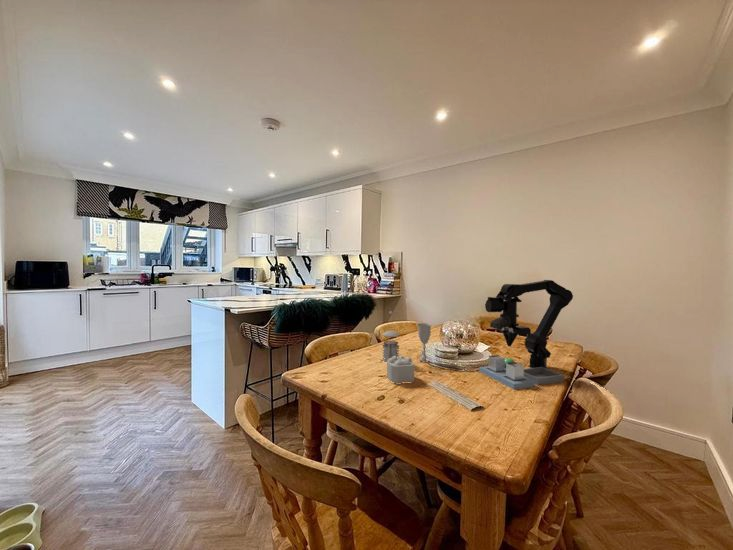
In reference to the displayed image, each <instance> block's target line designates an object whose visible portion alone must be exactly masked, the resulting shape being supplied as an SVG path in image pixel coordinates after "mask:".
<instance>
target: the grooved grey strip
mask: <svg viewBox="0 0 733 550" xmlns="http://www.w3.org/2000/svg"><path fill="white" fill-rule="evenodd" d="M427 384H428V385H429V386H431V387H433V388H434V389H436V390H438V391H439V392H441V393H443V394H444V395H446V396H447V397H446V396H445V397H446V398H448V397H449V398H450V400H451V399H452V401H453V400H454V401H455V402H454V401H453V402H454V403H456V402H457V403H456V404H458V403H459V404H460V405H459V404H458V405H459V406H461V405H462V406H461V407H463V406H464V407H465V408H464V407H463V408H464V409H466V408H467V409H466V410H468V409H469V410H470V411H469V410H468V411H469V412H472V409H475V408H476V407H480V406H481V407H480V408H482V407H483V408H484V407H485V406H484V405H482V404H481V403H479V402H477V401H476V400H473V399H471V398H469V397H468V396H466V395H464V394H462V393H461V392H459V391H457V390H455V389H454V388H451V387H450V386H447V384H445V383H442V382H440V381H437V380H433V381H430V382H428V383H427ZM428 385H427V386H428ZM429 386H428V387H429ZM431 387H430V388H431ZM433 388H432V389H433ZM434 389H433V390H434ZM436 390H435V391H436ZM438 391H437V392H438ZM439 392H438V393H439ZM441 393H440V394H441ZM443 394H442V395H443ZM444 395H443V396H444ZM449 398H448V399H449Z"/></svg>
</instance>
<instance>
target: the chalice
mask: <svg viewBox="0 0 733 550" xmlns="http://www.w3.org/2000/svg"><path fill="white" fill-rule="evenodd" d="M417 327H418V331H417V332H418V338H419V341H420V342H421V344H422V352H423V353H422V355H420V358H419V360H422V361H426V356H427V355H426V352H427V351H426V344H428V342H429V340H430V337H431V329H432V324H431V323H425V322H421V323H417Z"/></svg>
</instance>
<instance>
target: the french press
mask: <svg viewBox="0 0 733 550" xmlns="http://www.w3.org/2000/svg"><path fill="white" fill-rule="evenodd" d="M388 314H390V315H393V314H394V312H393V311H392V310H391V311H390V310H389V312H388ZM382 336H383V337H387V338H391V340H385V341H383V344H382V360H383V361H384V362H387V360H388V359H389V358H391V357H393V356H396V357H398V356H400V355H399V352H400V345H398V344H399V342H398V341H396V340H393V338H396V337H399V336H400V334H399V333H398V331H394V330H386V331H384V332H383V333H382ZM384 358H385V359H384Z"/></svg>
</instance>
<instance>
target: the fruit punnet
mask: <svg viewBox="0 0 733 550" xmlns="http://www.w3.org/2000/svg"><path fill="white" fill-rule="evenodd" d="M387 377H388V379H389V380H390V381H392V382H394V383H402V382H413V381H414V382H415V363H414V362H413V360H412V358H411V357H409V356H407V357H404V356H403V355H401V354H400V355H399V356H398V357H396V356H393V357H391V358H389V359H388V360H387V365H386V378H387ZM388 379H387V380H388ZM389 380H388V381H389ZM390 381H389V382H390ZM414 382H413V383H414Z"/></svg>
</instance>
